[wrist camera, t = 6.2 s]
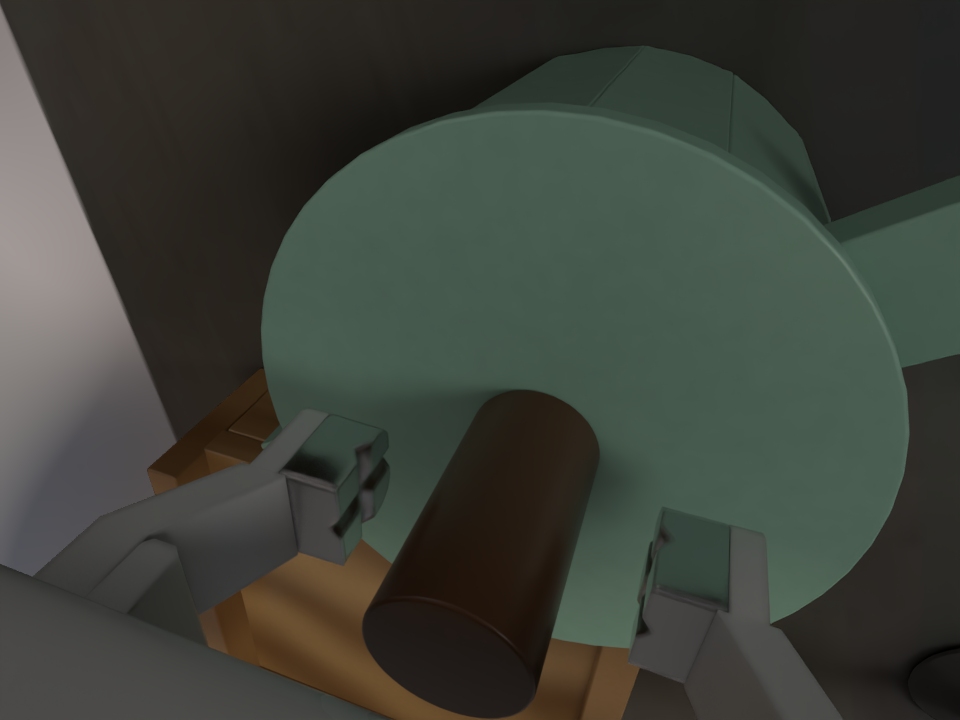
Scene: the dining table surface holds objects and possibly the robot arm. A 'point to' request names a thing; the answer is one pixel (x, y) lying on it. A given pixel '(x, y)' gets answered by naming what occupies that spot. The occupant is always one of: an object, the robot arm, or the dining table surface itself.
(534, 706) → the brown wooden open box
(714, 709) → the robot arm
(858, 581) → the dining table surface
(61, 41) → the dining table surface
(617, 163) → the lid
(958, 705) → the sundae
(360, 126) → the dining table surface
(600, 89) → the pot
